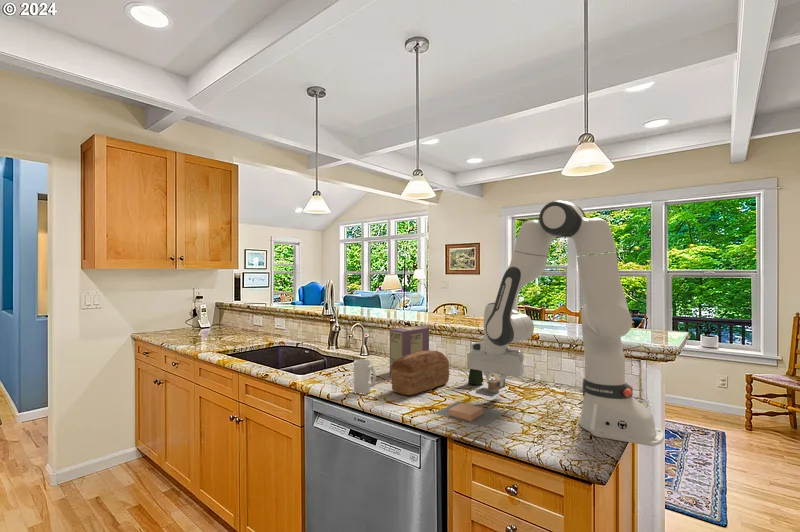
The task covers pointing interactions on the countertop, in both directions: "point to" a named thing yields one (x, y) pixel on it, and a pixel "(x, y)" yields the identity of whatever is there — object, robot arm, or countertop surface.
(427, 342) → the box
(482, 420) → the gray rectangular plate
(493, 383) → the turner
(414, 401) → the countertop surface
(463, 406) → the block
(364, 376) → the mug
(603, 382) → the robot arm
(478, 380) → the character mug
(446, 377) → the bread
